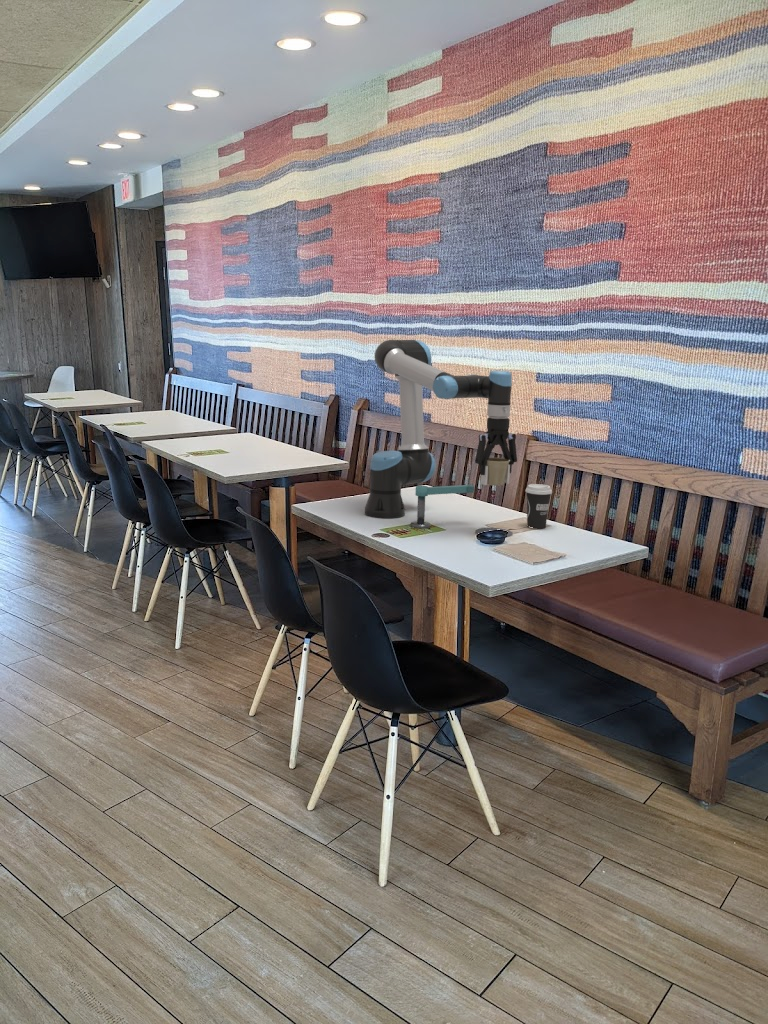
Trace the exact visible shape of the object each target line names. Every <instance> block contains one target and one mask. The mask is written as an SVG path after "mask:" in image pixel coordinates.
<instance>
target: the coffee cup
mask: <svg viewBox="0 0 768 1024" xmlns="http://www.w3.org/2000/svg"><path fill="white" fill-rule="evenodd" d="M525 492H526V524H527V525H528V526H530V527H533V528H537V529H536V530H543V529H546V526H547V521H548V519H547V518H548V514H549V507H550V501H551V496H552V494H553V490H552V488H551V486H550V485H548V484H542V483H541V484H538V483H530V484H527V487H526V488H525ZM527 525H526V526H527Z"/></svg>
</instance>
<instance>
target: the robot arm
mask: <svg viewBox="0 0 768 1024" xmlns="http://www.w3.org/2000/svg"><path fill="white" fill-rule="evenodd" d="M374 361H375V364H376V366H377V368H379V370H381V371H383V372H384V373H388V374H389V375H394V377H395V378H396V380H398V384H399V385H398V387H399V408H400V410H399V411H400V429H401V431H400V433H401V445H400V446H399V448H398V449H397V450H382V451H378V452H376V453H374V454H373V455H371V459H370V465H369V470H370V473H369V474H370V476H369V478H370V479H369V495H368V498H367V500H366V504H365V506H364V514H365V515H366V516H369V517H371V518H376V519H377V518H378V519H396V518H401V517H404V516H405V514H406V507H405V505H404V501H403V498H402V492H401V491H402V486H404V485H411V484H421V483H425V482H427V481H430V480H431V479H432V477H433V476H434V474H435V472H436V467H437V465H436V459H435V458H434V455H433V454H432V453H431V452H430V451H429V446H428V445H426V443H425V433H424V432H425V430H424V429H425V428H424V426H425V425H424V424H425V423H424V406H423V405H424V403H423V401H424V399H423V387H424V388H426V389H427V390H430V391H432V393H433V394H434V395H435V397H436V398H438V399H442V400H451V399H453V400H454V399H470V398H472V399H473V398H475V399H479V398H482V399H487V412H486V413H487V414H486V415H487V419H486V429H487V431H486V433H485V434H479V435H478V445H477V449H476V453H475V455H476V456H475V459H474V463H475V464H477V465H479V475H481V477H480V479H481V480H480V484H481V485H484V486H487V485H488V484H487V478H488V466H486V464H487V461H488V459H489V458H490V457H491V454H492V452H493V450H494V449H495V446H498V445H499V447H500V449H501V451H502V452H501V453H502V454H503V458H505V459H507V460H510V462H509V464H508V466H507V471H506V475H505V480H504V484H507V485H508V484H510V474H511V473H512V470H513V469H512V465H514V464H515V463H517V462H518V456H517V446H516V438H517V435H516V433H512V432H510V433H509V429H510V422H511V421H510V418H509V417H510V416H511V401H512V398H511V397H512V388H513V387H512V386H513V383H512V381H513V379H512V378H513V377H512V373H511V372H510V371H509V370H491V371H489V373H488V374H489V375H479V374H467V375H454V374H451V373H448V372H446V371H444V370H442V369H440V368H437V367H435V366H432V365H431V363H432V353H431V350H430V347H429V346H428V345H427V344H426V343H425V342H424V341H421V340H416V339H387V340H384V341H382V342H381V343H379V344H378V345H377V347H376V349H375V352H374Z"/></svg>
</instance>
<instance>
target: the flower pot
mask: <svg viewBox="0 0 768 1024" xmlns="http://www.w3.org/2000/svg"><path fill="white" fill-rule="evenodd" d="M509 462H510V460H507V459H505V458H504V457H503V458H502V457H491V456H490V457H489V459H488V461H487V464H486V466H488V478H487V485H489V486H504V484H505V483H504V480H505V475H506V471H507V466H508V464H509Z"/></svg>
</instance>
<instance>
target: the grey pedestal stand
mask: <svg viewBox="0 0 768 1024" xmlns="http://www.w3.org/2000/svg"><path fill="white" fill-rule="evenodd" d="M425 510H426V496H417V515H416V517H417V518H416V520H415V521H412V522H411V523H410V527H411V528H413V527H414V528H413V529H419V530H422V529H424V530H425V529H430V527H431V523H430V522H429V521H425V516H426V515H425V514H426V513H425V512H426V511H425Z"/></svg>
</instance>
